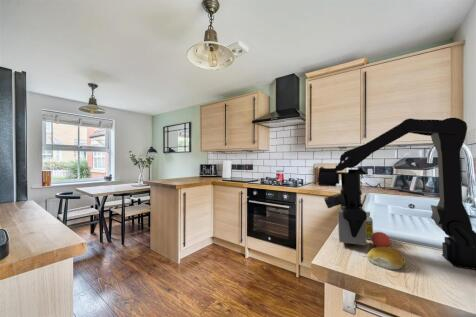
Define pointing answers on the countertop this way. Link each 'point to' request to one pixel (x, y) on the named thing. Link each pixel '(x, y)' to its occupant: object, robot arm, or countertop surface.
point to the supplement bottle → (369, 226)
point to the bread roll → (386, 258)
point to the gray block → (346, 233)
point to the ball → (380, 239)
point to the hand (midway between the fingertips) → (352, 232)
